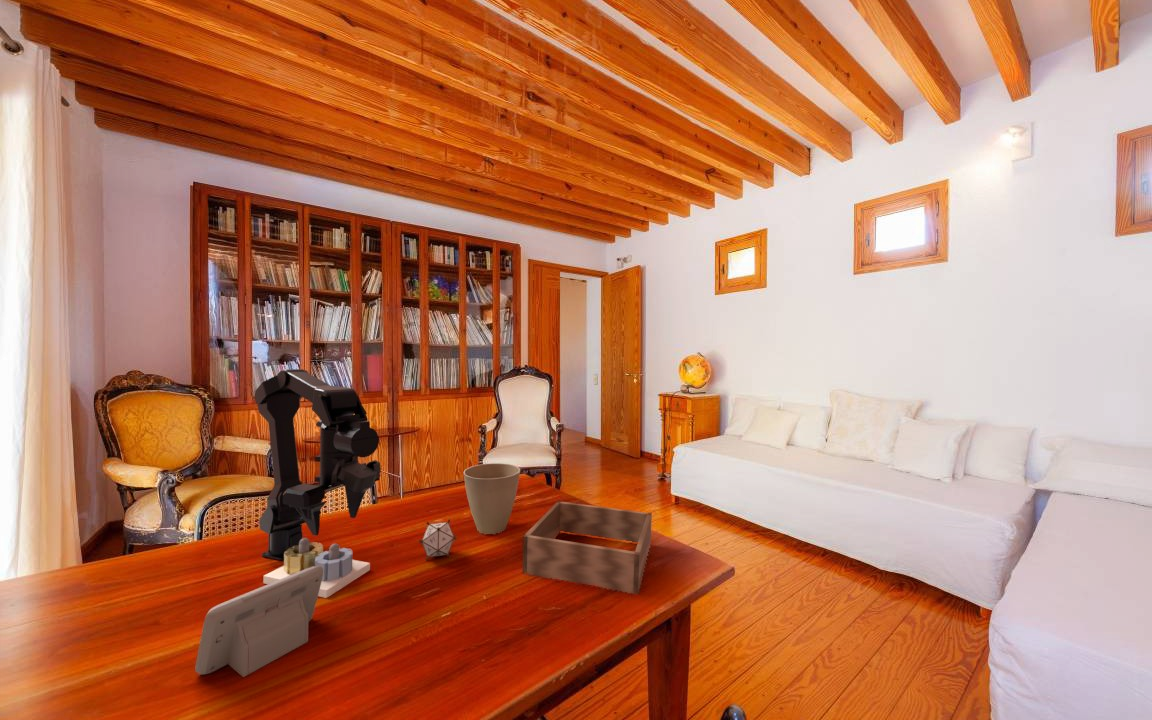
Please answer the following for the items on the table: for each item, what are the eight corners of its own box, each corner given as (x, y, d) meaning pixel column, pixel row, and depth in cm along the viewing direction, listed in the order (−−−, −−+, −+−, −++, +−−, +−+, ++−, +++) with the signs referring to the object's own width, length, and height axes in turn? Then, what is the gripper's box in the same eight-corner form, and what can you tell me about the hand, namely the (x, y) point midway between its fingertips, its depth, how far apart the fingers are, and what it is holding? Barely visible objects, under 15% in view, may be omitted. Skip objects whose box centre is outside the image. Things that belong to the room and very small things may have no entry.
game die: (441, 575, 95) (442, 553, 90) (410, 558, 97) (409, 535, 91) (463, 543, 102) (466, 520, 97) (434, 527, 104) (435, 503, 98)
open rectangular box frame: (522, 583, 90) (523, 536, 90) (556, 538, 112) (557, 501, 112) (637, 605, 83) (639, 554, 83) (650, 553, 105) (651, 513, 105)
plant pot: (492, 514, 123) (493, 460, 123) (530, 527, 114) (531, 469, 114) (450, 530, 111) (451, 471, 110) (489, 547, 102) (490, 482, 102)
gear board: (263, 583, 84) (263, 546, 84) (312, 558, 95) (312, 525, 94) (326, 598, 80) (326, 559, 79) (369, 569, 90) (370, 535, 90)
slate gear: (307, 577, 84) (307, 560, 84) (334, 562, 90) (334, 546, 90) (333, 583, 82) (333, 565, 82) (359, 567, 88) (359, 551, 88)
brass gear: (277, 574, 85) (277, 557, 84) (295, 558, 91) (296, 542, 91) (312, 573, 85) (312, 556, 85) (327, 557, 92) (328, 541, 92)
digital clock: (313, 615, 75) (314, 555, 74) (332, 638, 69) (333, 574, 69) (191, 663, 62) (192, 593, 62) (200, 697, 56) (201, 619, 56)
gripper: (328, 465, 74) (327, 552, 74) (400, 444, 92) (399, 514, 92) (281, 459, 77) (280, 543, 78) (359, 440, 95) (358, 508, 96)
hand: (335, 525), depth 86 cm, fingers open, 9 cm apart
